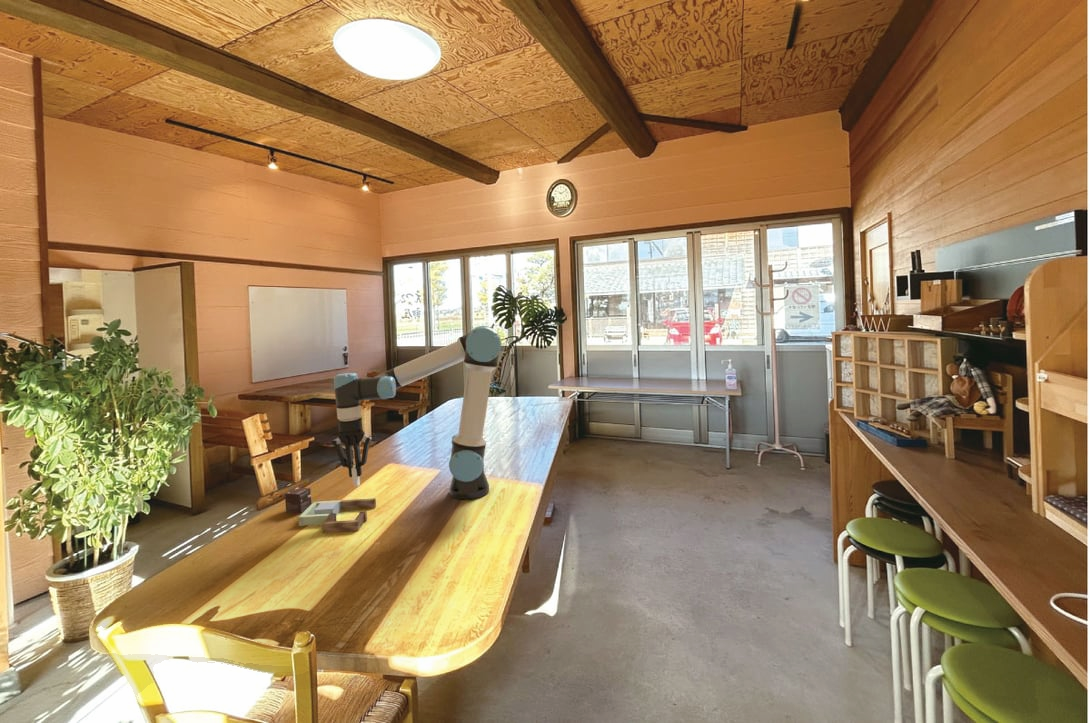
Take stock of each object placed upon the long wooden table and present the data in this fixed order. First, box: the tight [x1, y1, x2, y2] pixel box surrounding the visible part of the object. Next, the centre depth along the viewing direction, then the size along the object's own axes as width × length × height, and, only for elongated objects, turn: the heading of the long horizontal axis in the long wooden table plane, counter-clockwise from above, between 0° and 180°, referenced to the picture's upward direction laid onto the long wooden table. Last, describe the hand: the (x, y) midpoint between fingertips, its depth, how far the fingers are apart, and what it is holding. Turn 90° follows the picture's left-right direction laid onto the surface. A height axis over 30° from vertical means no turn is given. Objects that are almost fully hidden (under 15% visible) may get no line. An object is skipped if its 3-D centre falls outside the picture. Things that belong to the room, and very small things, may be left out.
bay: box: [298, 499, 342, 527], centre depth 161 cm, size 10×13×3 cm
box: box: [284, 487, 313, 515], centre depth 167 cm, size 6×6×7 cm
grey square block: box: [314, 502, 340, 517], centre depth 161 cm, size 6×6×4 cm
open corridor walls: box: [321, 497, 377, 534], centre depth 159 cm, size 12×20×3 cm, turn 5°
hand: (356, 485), depth 161 cm, fingers closed
